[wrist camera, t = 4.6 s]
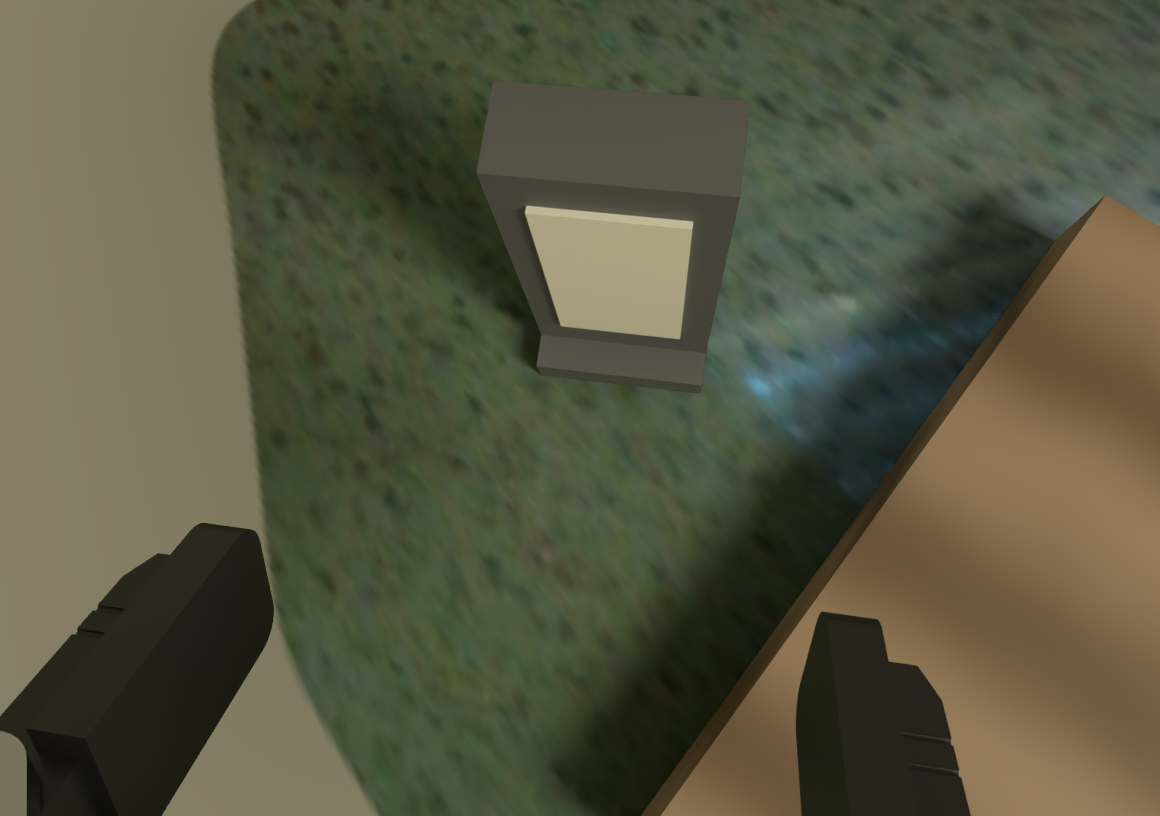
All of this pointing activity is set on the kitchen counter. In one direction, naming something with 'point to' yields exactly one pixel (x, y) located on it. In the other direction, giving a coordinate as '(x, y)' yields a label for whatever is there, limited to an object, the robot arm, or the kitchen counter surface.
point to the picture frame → (616, 223)
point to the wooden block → (1002, 561)
